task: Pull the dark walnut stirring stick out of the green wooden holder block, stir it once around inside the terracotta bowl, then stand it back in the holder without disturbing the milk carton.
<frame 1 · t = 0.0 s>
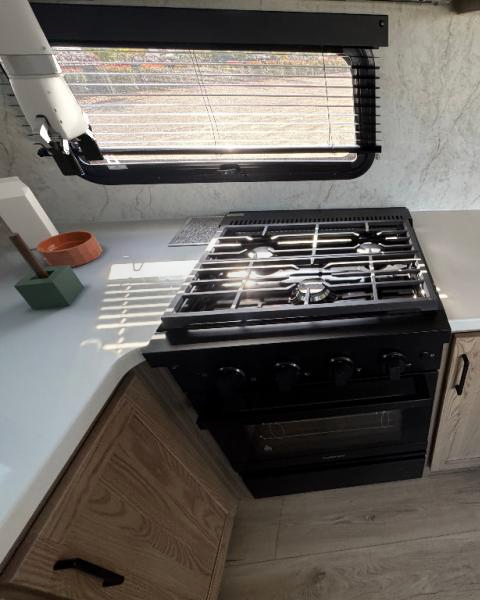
hand: (85, 167, 71), 28 cm above the countertop, tool pointing down, fingers open, 9 cm apart
milk carton: (44, 243, 102), on the countertop
stick: (38, 269, 76), in the holder
holder: (60, 299, 81), on the countertop
bowl: (77, 258, 95), on the countertop
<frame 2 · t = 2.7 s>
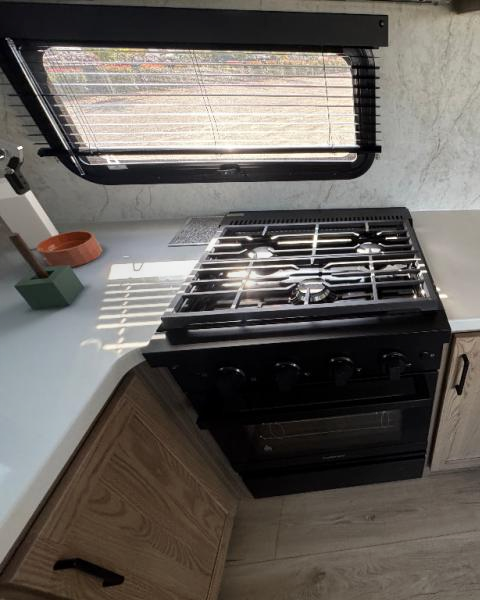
nothing on the countertop moved.
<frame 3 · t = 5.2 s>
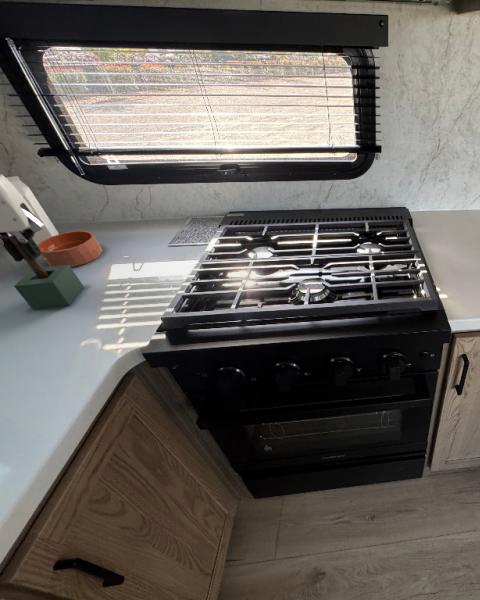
hand: (29, 257, 74), 12 cm above the countertop, tool pointing down, fingers closed on stick, 1 cm apart
stick: (38, 269, 76), in the holder, touching gripper
everything else where it was.
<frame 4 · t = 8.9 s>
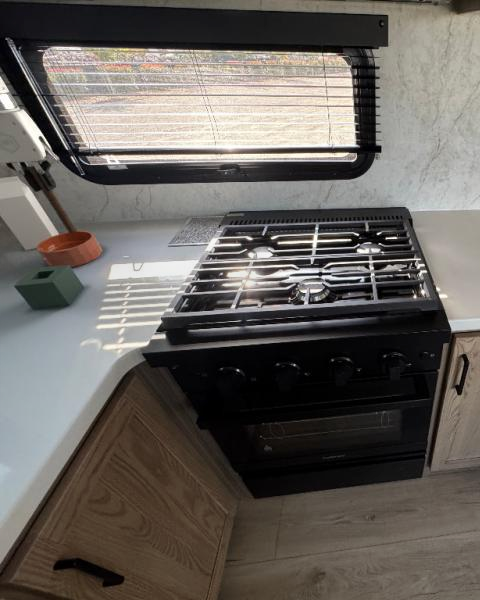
hand: (45, 188, 84), 19 cm above the countertop, tool pointing down, fingers closed on stick, 1 cm apart
stick: (53, 200, 86), point 16 cm above the countertop, touching gripper
everything else where it was.
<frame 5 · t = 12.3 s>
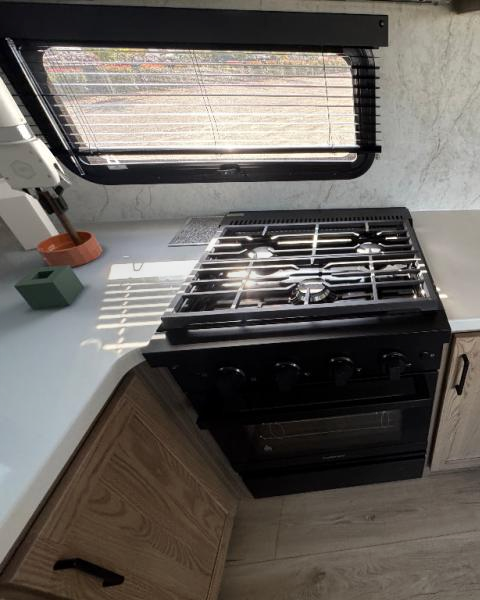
hand: (58, 211, 88), 14 cm above the countertop, tool pointing down, fingers closed on stick, 1 cm apart
stick: (65, 222, 89), point 11 cm above the countertop, touching gripper
everything else where it was.
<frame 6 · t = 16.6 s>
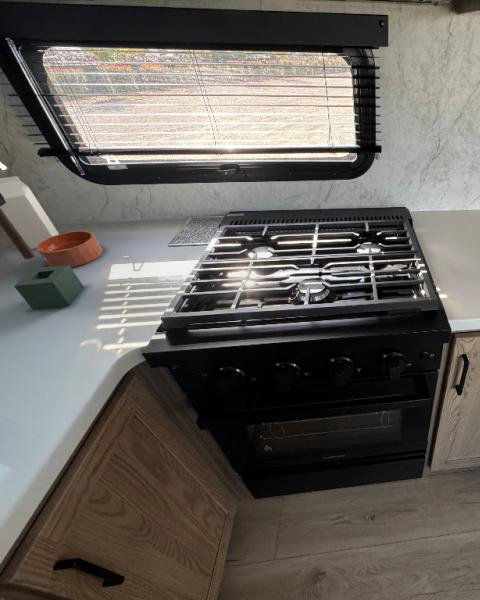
stick: (2, 220, 69), point 20 cm above the countertop, touching gripper
everything else where it was.
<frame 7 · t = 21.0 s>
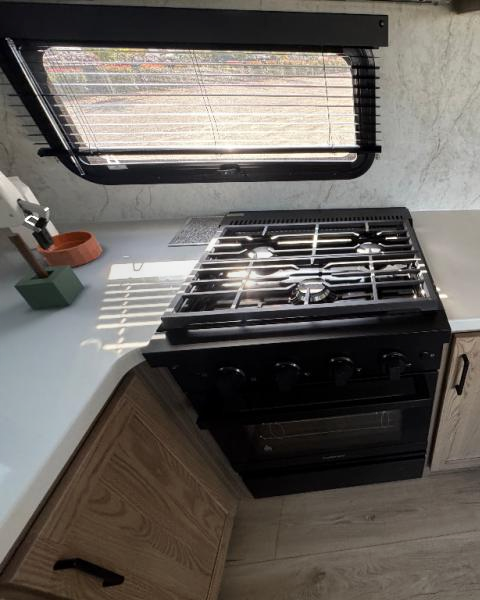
hand: (22, 248, 73), 14 cm above the countertop, tool pointing down, fingers open, 9 cm apart
stick: (38, 269, 76), in the holder
everything else where it was.
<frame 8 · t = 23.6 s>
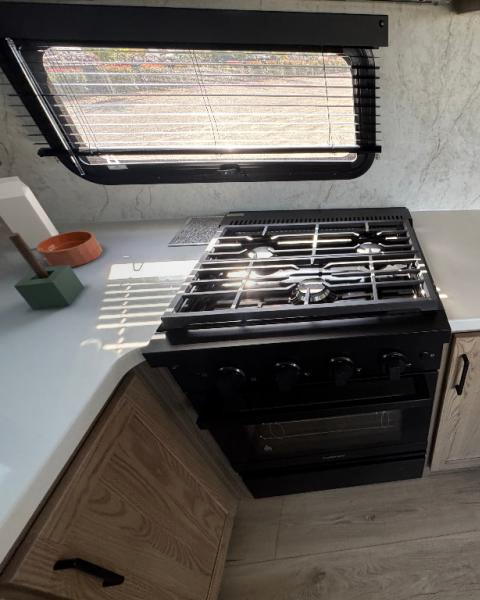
nothing on the countertop moved.
at the end: stick 0.1 cm off-centre in the holder, point 8.5 cm above the holder's base; stick tilted 0°; milk carton moved 0.2 cm from its start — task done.
